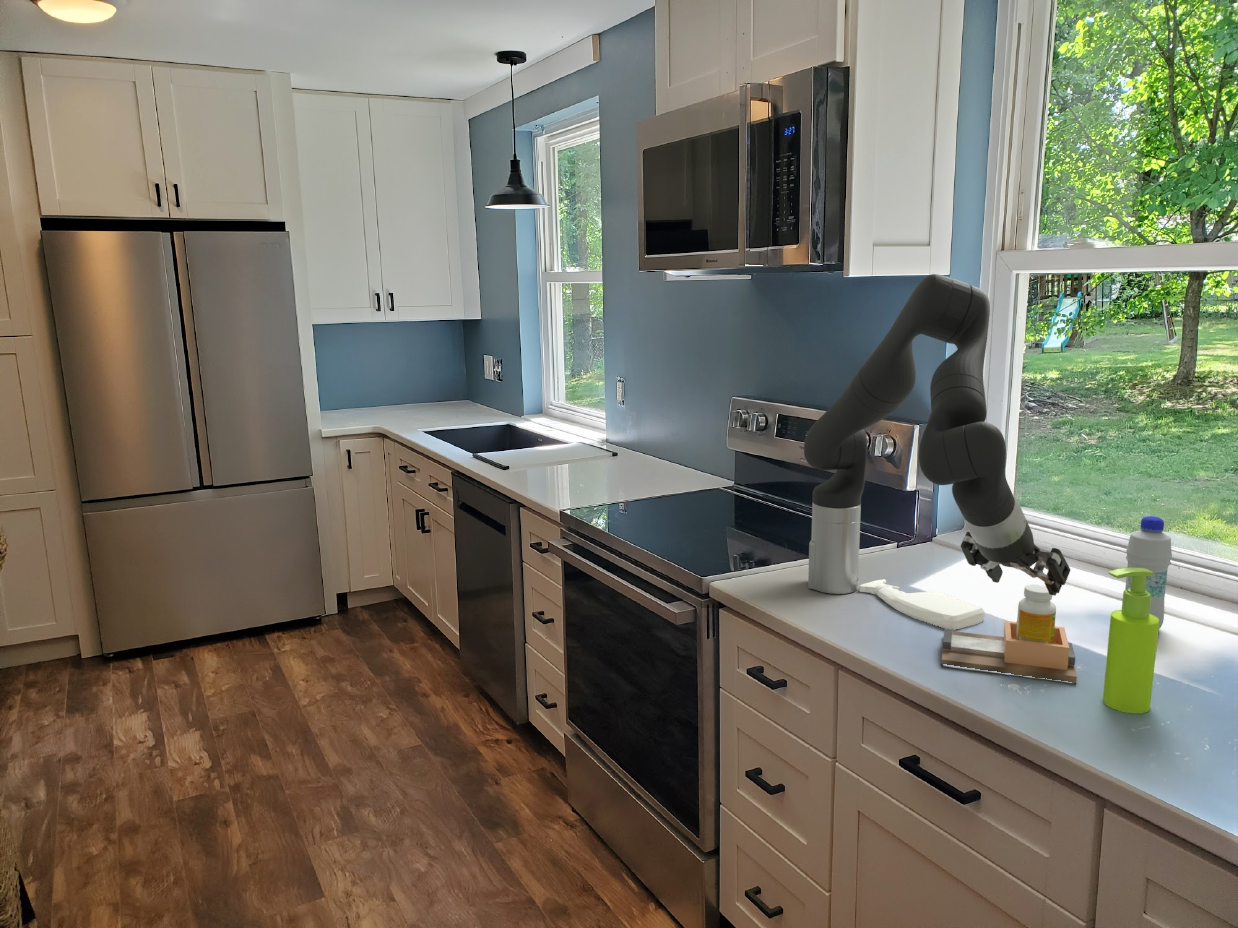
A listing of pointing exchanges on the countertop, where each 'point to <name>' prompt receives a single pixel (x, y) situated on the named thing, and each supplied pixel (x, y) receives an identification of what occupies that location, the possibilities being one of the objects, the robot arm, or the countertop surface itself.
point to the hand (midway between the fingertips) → (1026, 583)
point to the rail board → (1003, 663)
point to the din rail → (983, 646)
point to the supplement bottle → (1036, 615)
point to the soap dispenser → (1131, 647)
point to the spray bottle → (928, 606)
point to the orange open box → (1036, 649)
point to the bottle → (1151, 560)
